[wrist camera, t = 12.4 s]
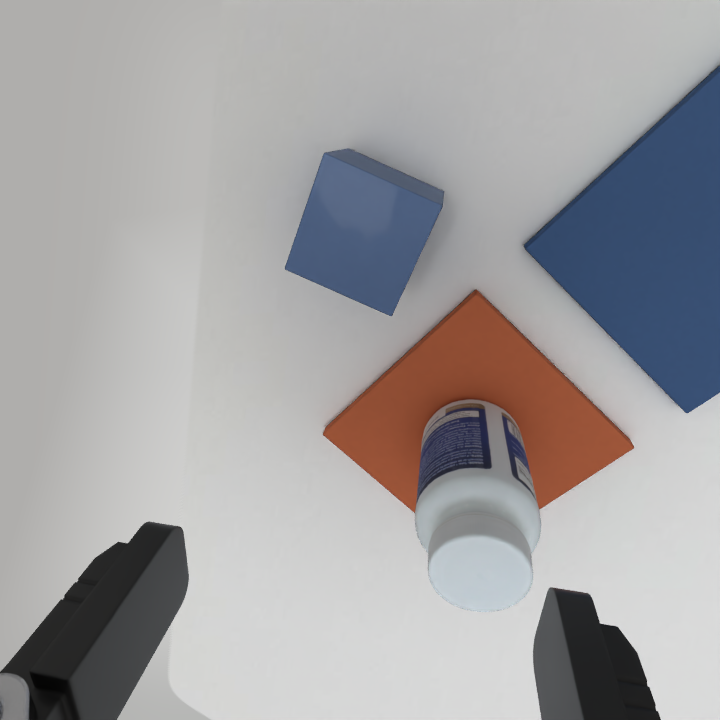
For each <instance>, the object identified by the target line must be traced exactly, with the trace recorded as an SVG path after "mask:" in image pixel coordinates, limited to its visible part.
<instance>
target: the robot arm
mask: <svg viewBox="0 0 720 720" xmlns="http://www.w3.org/2000/svg"><path fill="white" fill-rule="evenodd" d="M188 580H189V574H188V566H187V557H186V549H185V541H184V533H183V530H182V528H181V527H179V526H173V525H166V524H160V523H154V522H146V523H145V524H143V525H142V526H141V528H140V529H139V530H138V531H137V533H136V534H135V535H134V536H133V538H132V539H131V541H130V542H129V543H128V544H127V543H121V542H117V543H116V544H115V545H113V546H112V547H110V548H109V549H107V550H106V551H105V552H103V553H102V554H100V555H99V556H97V557H96V558H95V559H94V560H93V561H92V563H91V564H90V565H89V566H88V568H87V569H86V570H85V571H84V572H83V574H82V575H81V576H80V577H79V578H78V582H77V583H76V582H75V583H74V584H73V586H72V587H71V588H70V589H69V590H68V592H67V593H66V594H65V597H64V599H63V600H60V601H59V603H58V604H57V605H56V606H55V607H54V609H53V610H52V611H51V612H50V613H49V615H48V616H47V617H46V618H45V619H44V621H43V622H42V623H41V624H40V625H39V627H38V628H37V629H36V630H35V632H34V633H33V634H32V635H31V636H30V638H29V639H28V640H27V641H26V642H25V644H24V645H23V646H22V647H21V649H20V650H19V651H18V652H17V653H16V655H15V656H14V657H13V658H12V659H11V661H10V662H9V663H8V664H7V665H6V666H5V668H4V669H3V670H2V671H1V672H0V720H117V718H118V716H119V715H120V713H121V711H122V709H123V708H124V706H125V704H126V702H127V700H128V699H129V697H130V695H131V693H132V691H133V690H134V688H135V686H136V685H137V683H138V681H139V679H140V677H141V676H142V674H143V672H144V670H145V669H146V667H147V665H148V663H149V662H150V660H151V658H152V656H153V654H154V653H155V651H156V649H157V647H158V646H159V644H160V642H161V640H162V638H163V636H164V635H165V633H166V631H167V630H168V628H169V626H170V624H171V623H172V621H173V619H174V617H175V615H176V614H177V612H178V610H179V608H180V607H181V605H182V603H183V600H184V598H185V595H186V591H187V587H188ZM533 663H534V673H535V679H536V686H537V692H538V699H539V705H540V712H541V718H542V720H661V719H660V716H659V713H658V711H656V709H655V706H656V705H655V702H654V699H653V696H652V694H651V691H650V688H649V687H648V686H647V679H646V677H645V674H644V671H643V668H642V665H641V663H640V660H639V657H638V654H637V652H636V651H635V649H634V648H633V647H632V645H631V644H630V643H629V641H628V640H627V639H626V637H625V636H624V635H623V633H622V632H621V631H620V629H619V628H618V627H616V626H610V625H604V624H600V623H599V619H598V616H597V613H596V609H595V606H594V603H593V600H592V598H591V596H590V595H589V594H588V593H583V592H576V591H570V590H564V589H558V588H549V590H548V592H547V595H546V599H545V602H544V606H543V610H542V613H541V617H540V620H539V624H538V627H537V631H536V635H535V639H534V648H533Z"/></svg>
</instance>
